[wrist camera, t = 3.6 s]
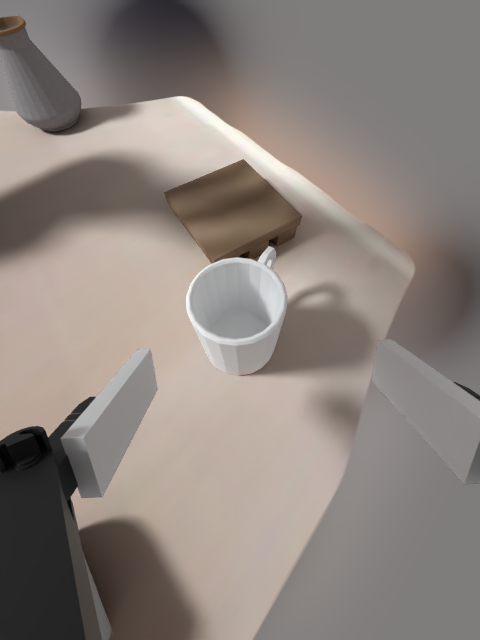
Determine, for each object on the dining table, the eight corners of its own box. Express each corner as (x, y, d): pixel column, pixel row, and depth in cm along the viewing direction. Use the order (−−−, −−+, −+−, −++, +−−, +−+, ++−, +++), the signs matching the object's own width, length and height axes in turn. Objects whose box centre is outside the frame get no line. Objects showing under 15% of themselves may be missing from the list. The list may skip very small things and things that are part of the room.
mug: (298, 300, 31) (319, 244, 22) (255, 388, 26) (260, 363, 18) (240, 276, 33) (238, 215, 24) (191, 355, 28) (165, 316, 19)
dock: (171, 213, 38) (164, 192, 35) (243, 181, 41) (243, 159, 37) (217, 277, 33) (214, 259, 29) (297, 235, 35) (301, 215, 32)
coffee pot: (100, 111, 51) (47, -7, 37) (61, 143, 46) (-15, 21, 33) (22, 92, 55) (-51, -21, 41) (-20, 119, 51) (-117, 3, 37)
